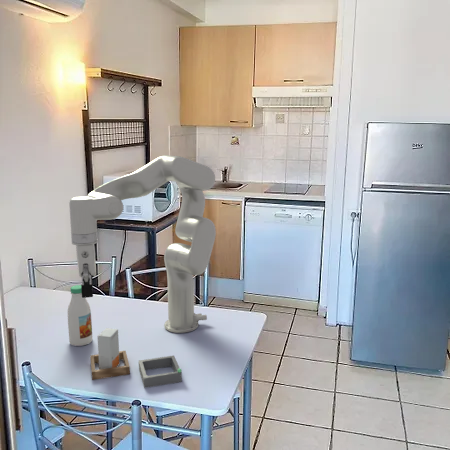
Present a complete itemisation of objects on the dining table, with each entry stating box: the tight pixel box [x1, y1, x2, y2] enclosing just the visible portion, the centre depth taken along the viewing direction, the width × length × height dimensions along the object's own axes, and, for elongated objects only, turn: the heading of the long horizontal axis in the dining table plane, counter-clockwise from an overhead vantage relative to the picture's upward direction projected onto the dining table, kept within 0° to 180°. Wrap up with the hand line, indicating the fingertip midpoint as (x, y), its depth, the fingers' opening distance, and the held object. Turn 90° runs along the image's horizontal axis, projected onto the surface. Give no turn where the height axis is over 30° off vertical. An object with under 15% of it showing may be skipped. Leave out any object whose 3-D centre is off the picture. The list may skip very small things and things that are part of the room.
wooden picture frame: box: [89, 350, 131, 381], centre depth 149 cm, size 11×11×2 cm
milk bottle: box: [67, 284, 93, 347], centre depth 165 cm, size 8×8×20 cm
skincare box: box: [97, 327, 120, 370], centre depth 148 cm, size 6×4×12 cm
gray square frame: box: [138, 355, 183, 389], centre depth 144 cm, size 11×11×4 cm
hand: (87, 291), depth 149 cm, fingers open, 9 cm apart
